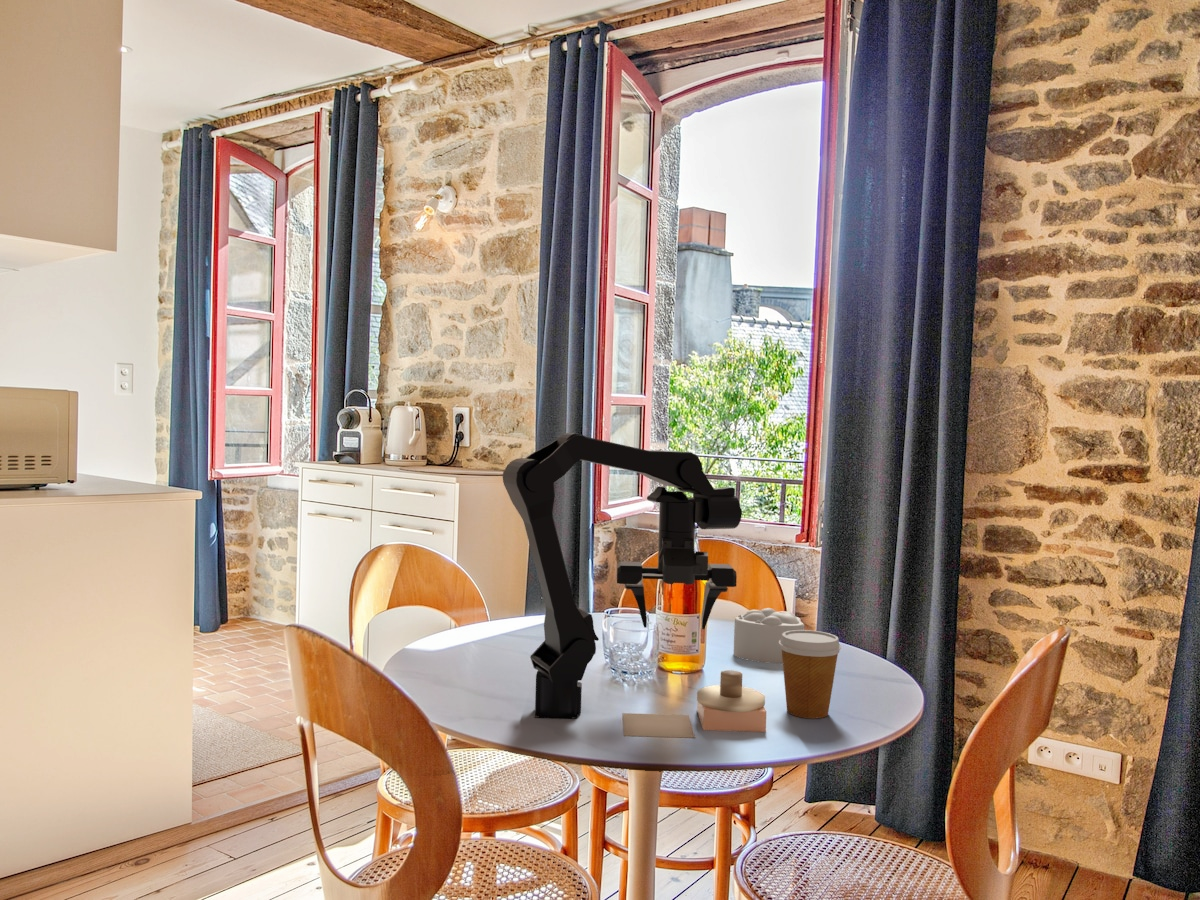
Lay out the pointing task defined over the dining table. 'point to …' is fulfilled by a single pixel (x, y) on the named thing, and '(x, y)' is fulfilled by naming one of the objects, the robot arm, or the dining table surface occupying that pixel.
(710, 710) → the dish
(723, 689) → the lid
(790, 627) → the lumpy-topped squat cylinder
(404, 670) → the dining table surface
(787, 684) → the disposable coffee cup
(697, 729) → the dining table surface
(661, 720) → the mat
